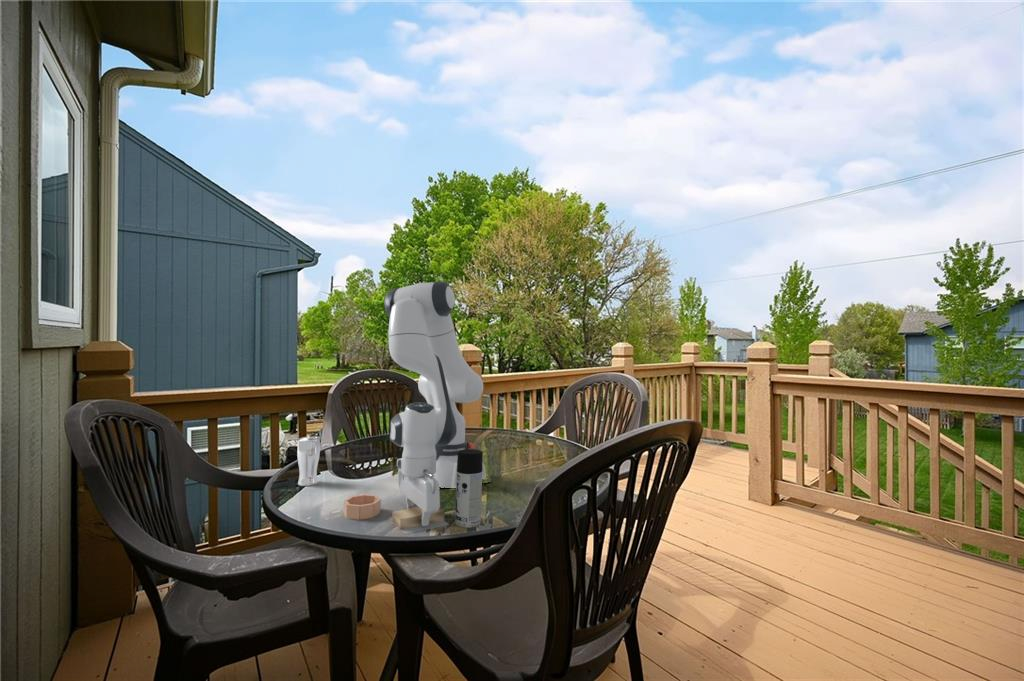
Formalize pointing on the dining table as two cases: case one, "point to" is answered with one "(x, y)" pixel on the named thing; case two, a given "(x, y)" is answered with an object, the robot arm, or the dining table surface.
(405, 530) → the mat
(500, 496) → the dining table surface
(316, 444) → the beer glass
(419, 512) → the board
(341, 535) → the dining table surface
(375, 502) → the bowl
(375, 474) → the dining table surface
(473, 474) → the spray can
